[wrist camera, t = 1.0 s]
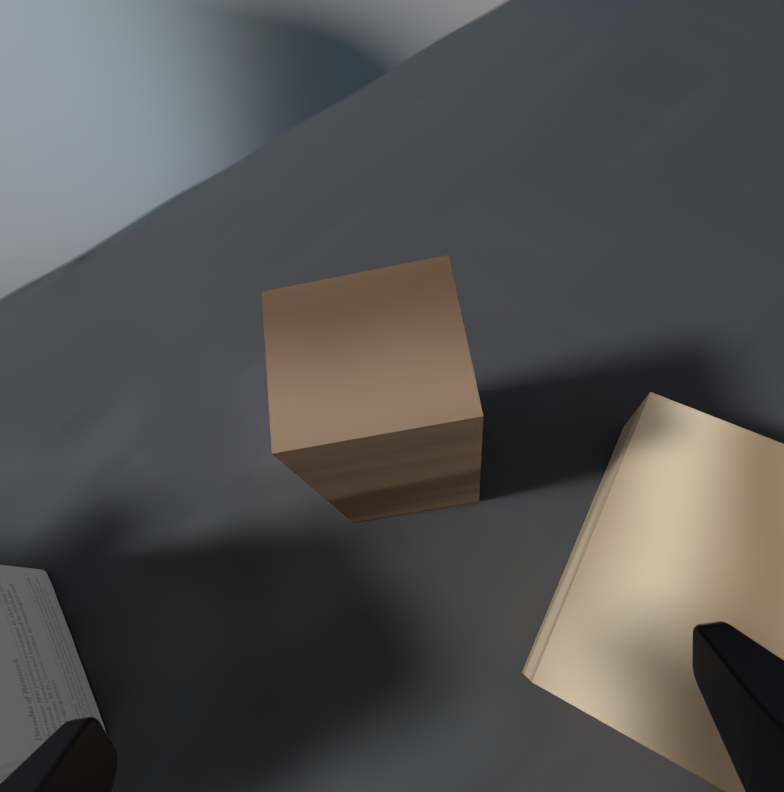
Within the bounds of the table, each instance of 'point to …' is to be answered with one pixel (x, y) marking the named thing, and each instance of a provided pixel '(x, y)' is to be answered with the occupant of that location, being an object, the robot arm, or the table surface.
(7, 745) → the supplement box
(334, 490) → the walnut block
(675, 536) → the beech block
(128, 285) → the table surface
